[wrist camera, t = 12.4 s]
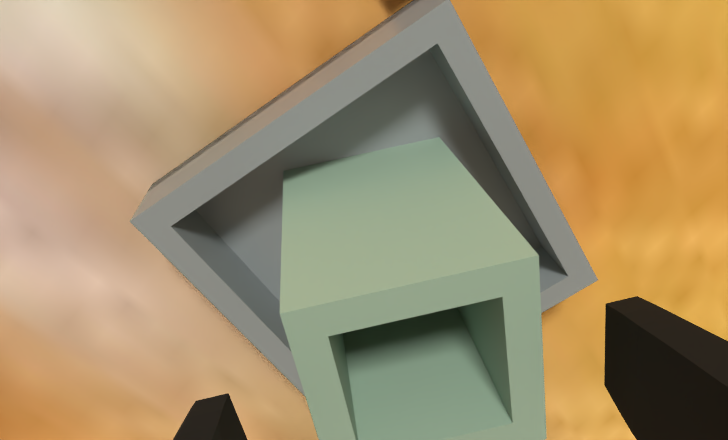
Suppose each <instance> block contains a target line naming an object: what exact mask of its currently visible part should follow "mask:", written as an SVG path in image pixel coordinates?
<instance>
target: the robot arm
mask: <svg viewBox="0 0 728 440" xmlns="http://www.w3.org/2000/svg"><path fill="white" fill-rule="evenodd" d="M604 385H605V387H606V388H607V390H608V392H609V394H610V396H611V397H612V399H613V401H614V403H615V405H616V406H617V408H618V410H619V412H620V413H621V415H622V417H623V418H624V420H625V422H626V423H627V425H628V427H629V428H630V430H631V432H632V434H633V435H634V436H635V438H636V439H637V440H728V341H726V340H724V339H722V338H720V337H718V336H716V335H714V334H712V333H710V332H708V331H706V330H704V329H702V328H700V327H698V326H696V325H694V324H692V323H690V322H688V321H686V320H684V319H682V318H681V317H679V316H677V315H675V314H673V313H671V312H669V311H667V310H665V309H663V308H661V307H659V306H657V305H655V304H652V303H650V302H648V301H646V300H644V299H642V298H640V297H632V298H628V299H624V300H620V301H615V302H611V303H607V304H606V323H605V384H604ZM173 440H247V438H246V435H245V433H244V430H243V428H242V425H241V423H240V421H239V418H238V416H237V413H236V411H235V408H234V406H233V403H232V401H231V399H230V396H229V394H224V395H219V396H215V397H211V398H207V399H202V400H198V401H196V402H195V403H194V405H193V406H192V408H191V409H190V411H189V413H188V414H187V416H186V418H185V420H184V421H183V423H182V425H181V427H180V428H179V430H178V432H177V433H176V435H175V437H174V439H173Z"/></svg>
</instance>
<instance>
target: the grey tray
mask: <svg viewBox="0 0 728 440" xmlns="http://www.w3.org/2000/svg"><path fill="white" fill-rule="evenodd" d="M437 137H440V139H441V140H442V141H443V142H444V143H445V144H446V146H447V147H448V148H449V149H450V150H451V152H452V153H453V154H454V155H455V156H456V158H457V159H458V160H459V161H460V162H461V163H462V165H463V166H464V167H465V168H466V169H467V171H468V172H469V173H470V174H471V175H472V177H473V178H474V179H475V180H476V181H477V182H478V184H479V185H480V186H481V187H482V188H483V190H484V191H485V192H486V193H487V194H488V196H489V197H490V198H491V199H492V200H493V201H494V203H495V204H496V205H497V206H498V207H499V209H500V210H501V211H502V212H503V213H504V215H505V216H506V217H507V218H508V219H509V220H510V222H511V223H512V224H513V225H514V226H515V228H516V229H517V230H518V231H519V232H520V234H521V235H522V236H523V237H524V238H525V239H526V241H527V242H528V243H529V244H530V245H531V247H532V248H533V249H534V250H535V251H536V253H537V254H538V255H539V272H540V296H541V313H542V312H544V311H546V310H548V309H549V308H551V307H553V306H554V305H556V304H558V303H560V302H561V301H563V300H565V299H566V298H568V297H570V296H572V295H573V294H575V293H577V292H578V291H580V290H582V289H584V288H585V287H587V286H589V285H590V284H592V283H594V282H596V281H597V280H598V279H597V277H596V275H595V273H594V272H593V270H592V268H591V266H590V264H589V262H588V260H587V258H586V256H585V255H584V253H583V251H582V249H581V247H580V245H579V243H578V241H577V239H576V238H575V236H574V234H573V232H572V230H571V228H570V226H569V224H568V222H567V221H566V219H565V217H564V215H563V213H562V211H561V209H560V207H559V205H558V204H557V202H556V200H555V198H554V196H553V194H552V192H551V190H550V188H549V187H548V185H547V183H546V181H545V179H544V177H543V175H542V173H541V171H540V170H539V168H538V166H537V164H536V162H535V160H534V158H533V156H532V154H531V153H530V151H529V149H528V147H527V145H526V143H525V141H524V139H523V137H522V136H521V134H520V132H519V130H518V128H517V126H516V124H515V122H514V120H513V119H512V117H511V115H510V113H509V111H508V109H507V107H506V105H505V103H504V102H503V100H502V98H501V96H500V94H499V92H498V90H497V88H496V86H495V85H494V83H493V81H492V79H491V77H490V75H489V73H488V71H487V69H486V68H485V66H484V64H483V62H482V60H481V58H480V56H479V54H478V52H477V51H476V49H475V47H474V45H473V43H472V41H471V39H470V37H469V35H468V34H467V32H466V30H465V28H464V26H463V24H462V22H461V20H460V18H459V17H458V15H457V13H456V11H455V9H454V7H453V5H452V3H451V1H450V0H413V1H411V2H410V3H409V4H407V5H406V6H404V7H403V8H401V9H400V10H399V11H397V12H396V13H394V14H393V15H392V16H390V17H389V18H387V19H386V20H384V21H383V22H382V23H380V24H379V25H377V26H376V27H375V28H373V29H372V30H370V31H369V32H367V33H366V34H365V35H363V36H362V37H360V38H359V39H358V40H356V41H355V42H353V43H352V44H350V45H349V46H348V47H346V48H345V49H343V50H342V51H341V52H339V53H338V54H336V55H335V56H333V57H332V58H331V59H329V60H328V61H326V62H325V63H323V64H322V65H321V66H319V67H318V68H316V69H315V70H314V71H312V72H311V73H309V74H308V75H306V76H305V77H304V78H302V79H301V80H299V81H298V82H297V83H295V84H294V85H292V86H291V87H289V88H288V89H287V90H285V91H284V92H282V93H281V94H280V95H278V96H277V97H275V98H274V99H272V100H271V101H270V102H268V103H267V104H265V105H264V106H263V107H261V108H260V109H258V110H257V111H255V112H254V113H253V114H251V115H250V116H248V117H247V118H246V119H244V120H243V121H241V122H240V123H238V124H237V125H236V126H234V127H233V128H231V129H230V130H229V131H227V132H226V133H224V134H223V135H221V136H220V137H219V138H217V139H216V140H214V141H213V142H212V143H210V144H209V145H207V146H206V147H204V148H203V149H202V150H200V151H199V152H197V153H196V154H194V155H193V156H192V157H190V158H189V159H187V160H186V161H185V162H183V163H182V164H180V165H179V166H177V167H176V168H175V169H173V170H172V171H170V172H169V173H168V174H166V175H165V176H163V177H162V178H160V179H159V180H158V181H156V182H155V183H153V184H152V185H151V187H150V189H149V190H148V192H147V194H146V195H145V197H144V199H143V200H142V202H141V204H140V205H139V207H138V209H137V210H136V212H135V213H134V215H133V217H132V218H131V220H130V222H131V223H132V224H133V225H134V226H135V227H136V228H137V229H138V230H139V231H140V232H141V233H142V234H143V235H144V236H145V237H146V238H147V239H148V240H149V241H150V242H151V243H152V244H153V245H154V246H155V247H156V248H157V249H158V250H159V251H160V252H161V253H162V254H163V255H164V256H165V257H166V258H167V259H168V260H169V261H170V262H171V263H172V264H173V265H174V266H175V267H176V268H177V269H178V270H179V271H180V272H181V273H182V274H183V275H184V276H185V277H186V278H187V279H188V280H189V281H190V282H191V283H192V284H193V285H194V286H195V287H196V288H197V289H198V290H199V291H200V292H201V293H202V294H203V295H204V296H205V297H206V298H207V299H208V300H209V301H210V302H211V303H212V304H213V305H214V306H215V307H216V308H217V309H218V310H219V311H220V312H221V313H222V314H223V315H224V316H225V317H226V318H227V319H228V320H229V321H230V322H231V323H232V324H233V325H234V326H235V327H236V328H237V329H238V330H239V331H240V332H241V333H242V334H243V335H244V336H245V337H246V338H247V339H248V340H249V341H250V342H251V343H252V344H253V345H254V346H255V347H256V348H257V349H258V350H259V351H260V352H261V353H262V354H263V355H264V356H265V357H266V358H267V359H268V360H269V361H270V362H271V363H272V364H273V365H274V366H275V367H276V368H277V369H278V370H279V371H280V372H281V373H282V374H283V375H284V376H285V377H286V378H287V379H288V380H289V381H290V382H291V383H292V384H293V385H294V386H295V387H296V388H297V389H298V390H299V391H300V392H301V393H302V394H303V395H304V396H305V394H304V390H303V387H302V384H301V381H300V378H299V374H298V371H297V368H296V365H295V361H294V358H293V355H292V352H291V349H290V345H289V342H288V339H287V336H286V333H285V329H284V326H283V323H282V320H281V317H280V280H281V243H282V206H283V171H285V170H290V169H295V168H299V167H304V166H308V165H313V164H318V163H322V162H327V161H331V160H336V159H341V158H345V157H350V156H354V155H359V154H364V153H368V152H373V151H377V150H382V149H387V148H391V147H396V146H400V145H405V144H410V143H414V142H419V141H423V140H428V139H433V138H437Z"/></svg>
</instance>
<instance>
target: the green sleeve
mask: <svg viewBox="0 0 728 440" xmlns="http://www.w3.org/2000/svg"><path fill="white" fill-rule="evenodd" d="M280 317H281V320H282V323H283V326H284V329H285V333H286V336H287V339H288V342H289V345H290V349H291V352H292V355H293V358H294V361H295V365H296V368H297V371H298V374H299V378H300V381H301V384H302V387H303V390H304V394H305V397H306V400H307V403H308V406H309V410H310V413H311V416H312V419H313V422H314V426H315V429H316V432H317V435H318V438H319V440H545V439H546V415H545V391H544V367H543V343H542V320H541V296H540V272H539V255H538V254H537V253H536V251H535V250H534V249H533V248H532V247H531V245H530V244H529V243H528V242H527V241H526V239H525V238H524V237H523V236H522V235H521V234H520V232H519V231H518V230H517V229H516V228H515V226H514V225H513V224H512V223H511V222H510V220H509V219H508V218H507V217H506V216H505V215H504V213H503V212H502V211H501V210H500V209H499V207H498V206H497V205H496V204H495V203H494V201H493V200H492V199H491V198H490V197H489V196H488V194H487V193H486V192H485V191H484V190H483V188H482V187H481V186H480V185H479V184H478V182H477V181H476V180H475V179H474V178H473V177H472V175H471V174H470V173H469V172H468V171H467V169H466V168H465V167H464V166H463V165H462V163H461V162H460V161H459V160H458V159H457V158H456V156H455V155H454V154H453V153H452V152H451V150H450V149H449V148H448V147H447V146H446V144H445V143H444V142H443V141H442V140H441V139H440V137H437V138H433V139H428V140H423V141H419V142H414V143H410V144H405V145H400V146H396V147H391V148H387V149H382V150H377V151H373V152H368V153H364V154H359V155H354V156H350V157H345V158H341V159H336V160H331V161H327V162H322V163H318V164H313V165H308V166H304V167H299V168H295V169H290V170H285V171H283V206H282V243H281V280H280Z"/></svg>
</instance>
